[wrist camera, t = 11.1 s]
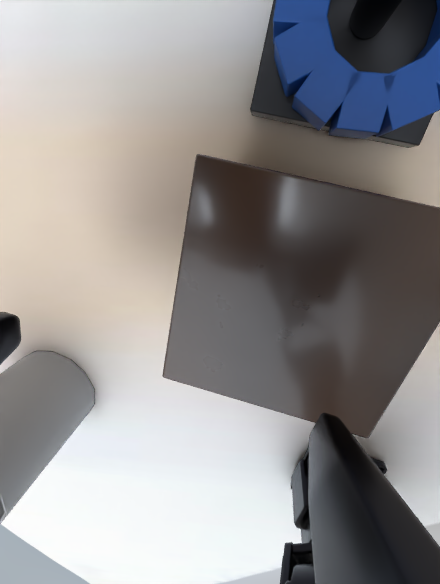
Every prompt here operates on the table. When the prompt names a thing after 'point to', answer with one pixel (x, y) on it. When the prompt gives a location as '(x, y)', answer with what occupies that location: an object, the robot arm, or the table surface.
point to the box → (302, 293)
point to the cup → (37, 418)
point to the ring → (349, 76)
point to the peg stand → (357, 55)
